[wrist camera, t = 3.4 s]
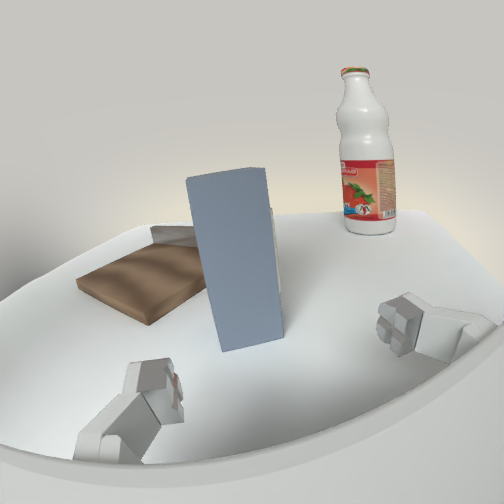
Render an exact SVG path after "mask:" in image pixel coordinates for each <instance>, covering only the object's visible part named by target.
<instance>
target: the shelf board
mask: <svg viewBox="0 0 504 504" xmlns="http://www.w3.org/2000/svg"><path fill="white" fill-rule="evenodd" d="M150 229H151V233H152V238H153V242H154V243H153V244H151V245H149V246H147V247H144V248H142V249H140V250H138V251H135V252H133V253H131V254H129V255H127V256H124V257H122V258H120V259H118V260H116V261H114V262H112V263H109V264H107V265H105V266H103V267H101V268H99V269H97V270H95V271H93V272H91V273H89V274H87V275H84V276H82V277H80V278H78V279H76V282H77V285H78V288H79V289H80V290H82V291H84V292H85V293H87V294H89V295H91V296H92V297H94V298H96V299H98V300H99V301H101V302H103V303H105V304H107V305H109V306H110V307H112V308H114V309H116V310H118V311H120V312H122V313H124V314H126V315H128V316H130V317H132V318H134V319H136V320H138V321H140V322H142V323H144V324H146V325H148V326H149V325H150V324H152V323H153V322H155V321H156V320H158V319H159V318H161V317H162V316H164V315H165V314H167V313H168V312H170V311H171V310H173V309H174V308H176V307H177V306H179V305H180V304H182V303H183V302H185V301H186V300H188V299H189V298H191V297H192V296H194V295H195V294H197V293H198V292H200V291H201V290H202V289H204V288H205V287H206V283H205V278H204V273H203V269H202V264H201V259H200V255H199V250H198V245H197V240H196V235H195V230H194V226H153V227H151V228H150Z"/></svg>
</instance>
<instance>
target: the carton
mask: <svg viewBox="0 0 504 504" xmlns="http://www.w3.org/2000/svg"><path fill="white" fill-rule="evenodd" d="M186 186H187V191H188V197H189V203H190V209H191V214H192V219H193V225H194V230H195V235H196V240H197V245H198V250H199V255H200V259H201V264H202V269H203V273H204V278H205V283H206V287H207V291H208V296H209V300H210V304H211V309H212V313H213V317H214V321H215V325H216V329H217V333H218V337H219V341H220V345H221V349H222V352H226V351H230V350H235V349H240V348H244V347H248V346H253V345H257V344H261V343H265V342H269V341H273V340H277V339H281V338H284V335H283V324H282V314H281V303H280V293H281V285H280V275H279V265H278V256H277V247H276V238H275V229H274V220H273V212H272V208H270V204H269V196H268V189H267V180H266V172H265V168H251V167H249V168H241V169H235V170H228V171H222V172H216V173H211V174H204V175H200V176H193V177H188V178H187V179H186Z"/></svg>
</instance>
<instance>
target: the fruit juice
mask: <svg viewBox="0 0 504 504" xmlns="http://www.w3.org/2000/svg"><path fill="white" fill-rule="evenodd" d="M341 76H342V79H343V80H344V82H345V92H344V98H343V101H342V103H341V105H340V106H339V108H338V110H337V113H336V121H337V125H338V127H339V129H340V132H341V141H340V146H339V152H340V163H341V172H342V173H341V174H342V187H343V200H344V201H343V202H344V222H345V227H346V229H347V230H349V231H350V232H353V233H357V234H364V235H379V234H386V233H389V232H391V231H393V230H394V228H395V224H396V190H395V168H394V154H393V147H392V143H391V141H390V139H389V136H388V127H389V117H388V113H387V111H386V109H385V108H384V106H383V105H382V104H381V103H380V102H379V101H378V100H377V98H376V96H375V95H374V93H373V91H372V89H371V86H370V84H369V78H370V77H369V71H368V69H366V68H364V67H348V68H344V69H343V70H342V71H341Z"/></svg>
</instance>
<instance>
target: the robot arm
mask: <svg viewBox="0 0 504 504" xmlns="http://www.w3.org/2000/svg"><path fill="white" fill-rule="evenodd" d="M378 313H379V315H380V318H379V319H378V321H377V327H376V329H377V333H378V336H379V338H380V339H381V340H382V341H383V342H384V343H388V344H390V349H391V350H392V351H393V352H394V353H395V354H396V355H397V356H398V357H401V356H403V355H405V354H407V353H409V352H411V351H413V350H415V351H416V352H418V353H421V354H424V355H426V356H429V357H431V358H434V359H437V360H439V361H442V362H445V363H447V364H450V365H449V366H447V367H446V368H444V369H443V370H441V371H440V372H438V373H437V374H435V375H434V376H432V377H431V378H429V379H428V380H426V381H424V382H423V383H421V384H419V385H418V386H416V387H414V388H413V389H411V390H409V391H407V392H406V393H404V394H402V395H400V396H398V397H397V398H395V399H393V400H391V401H389V402H387V403H385V404H383V405H381V406H379V407H377V408H375V409H373V410H371V411H369V412H366V413H364V414H362V415H360V416H358V417H355V418H353V419H351V420H348V421H346V422H343V423H341V424H338V425H336V426H333V427H331V428H328V429H325V430H323V431H320V432H317V433H314V434H311V435H308V436H305V437H302V438H299V439H296V440H293V441H289V442H286V443H282V444H279V445H275V446H271V447H267V448H263V449H259V450H255V451H250V452H246V453H241V454H236V455H231V456H225V457H219V458H212V459H205V460H197V461H188V462H178V463H163V464H144V463H143V462H142V461H141V459H142V457H143V455H144V454H145V452H146V451H147V449H148V447H149V446H150V444H151V443H152V441H153V440H154V438H155V436H156V435H157V433H158V431H159V430H160V428H161V425H168V424H176V423H182V422H184V410H183V406H182V404H181V401H182V400H183V392H182V387H181V383H180V380H179V377H178V375H177V374H175V373H174V365H173V363H172V361H171V359H170V358H163V359H155V360H147V361H139V362H131V363H129V365H128V368H127V373H126V377H125V382H124V387H123V392H122V394H118V395H117V396H116V397H115V398H114V399H113V400H112V401H111V402H110V403H109V404H108V405H107V406H106V407H105V408H104V409H103V410H102V411H101V412H100V413H99V414H98V415H97V416H96V417H95V418H94V419H93V420H92V421H91V422H90V423H89V424H87V425H86V426H85V427H84V428H83V429H82V430H81V431H80V432H79V434H78V438H77V442H76V447H75V451H74V456H73V460H69V459H62V458H56V457H50V456H45V455H40V454H36V453H31V452H27V451H23V450H19V449H16V448H13V447H9V446H6V445H3V444H0V504H504V322H503V323H502V324H500V325H499V326H497V325H495V324H494V323H492V322H491V321H489V320H488V319H486V318H485V317H483V316H482V315H479V314H473V313H467V312H462V311H456V310H450V309H445V308H439V307H435V308H433V307H432V306H430V305H429V304H427V303H426V302H424V301H423V300H421V299H420V298H418V297H417V296H415V295H414V294H412V293H406V294H403V295H401V296H399V297H397V298H394V299H392V300H389V301H386V302H384V303H381V304H380V306H379V309H378Z"/></svg>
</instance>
